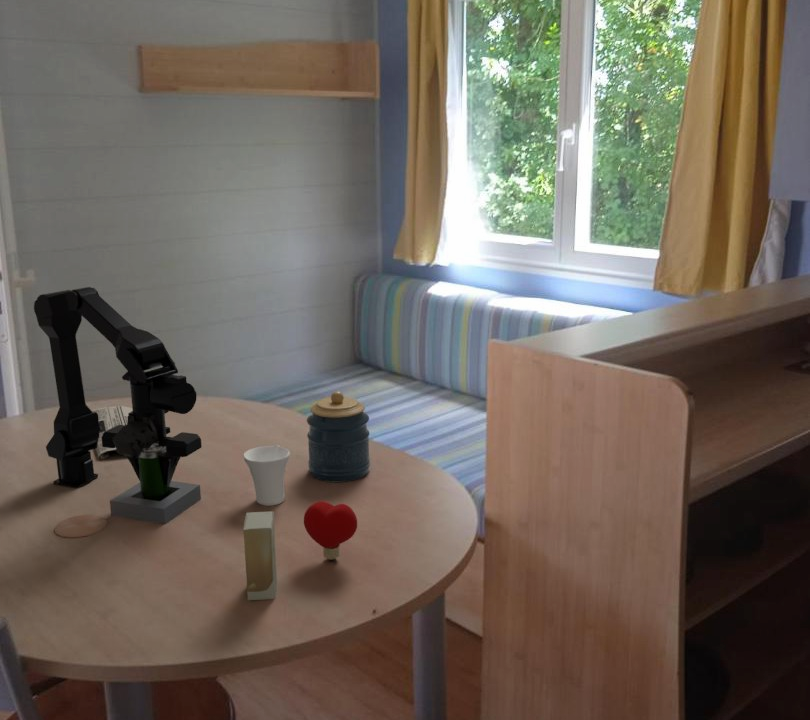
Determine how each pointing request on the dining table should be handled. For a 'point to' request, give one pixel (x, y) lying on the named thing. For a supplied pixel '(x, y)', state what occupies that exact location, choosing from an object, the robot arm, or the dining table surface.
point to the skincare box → (260, 555)
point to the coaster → (80, 526)
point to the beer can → (152, 474)
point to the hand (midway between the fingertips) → (154, 482)
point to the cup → (268, 472)
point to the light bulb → (330, 526)
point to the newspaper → (110, 424)
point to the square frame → (155, 503)
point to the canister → (338, 439)
